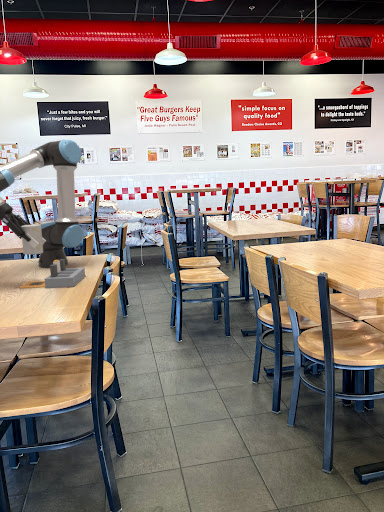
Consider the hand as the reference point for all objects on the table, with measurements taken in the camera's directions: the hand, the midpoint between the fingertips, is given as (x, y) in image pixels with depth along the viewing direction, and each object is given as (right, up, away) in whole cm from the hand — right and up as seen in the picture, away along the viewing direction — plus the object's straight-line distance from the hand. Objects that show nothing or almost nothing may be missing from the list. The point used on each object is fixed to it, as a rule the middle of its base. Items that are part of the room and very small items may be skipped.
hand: (40, 244), depth 186 cm
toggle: (+6, -12, +3) cm, 14 cm away
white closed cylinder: (-3, -4, +1) cm, 5 cm away
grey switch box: (+10, -17, +4) cm, 20 cm away
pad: (-2, -18, +1) cm, 18 cm away
